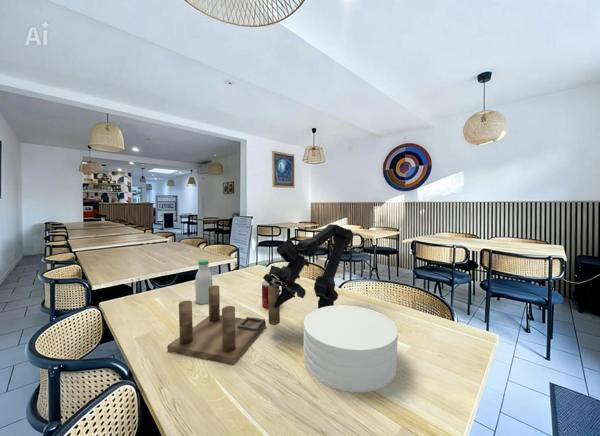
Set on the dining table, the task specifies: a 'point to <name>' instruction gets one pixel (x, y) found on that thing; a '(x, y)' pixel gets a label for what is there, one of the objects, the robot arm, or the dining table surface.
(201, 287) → the milk bottle
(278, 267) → the robot arm
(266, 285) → the canned food
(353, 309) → the plate stack
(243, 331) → the peg board
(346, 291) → the dining table surface
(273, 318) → the stool leg
